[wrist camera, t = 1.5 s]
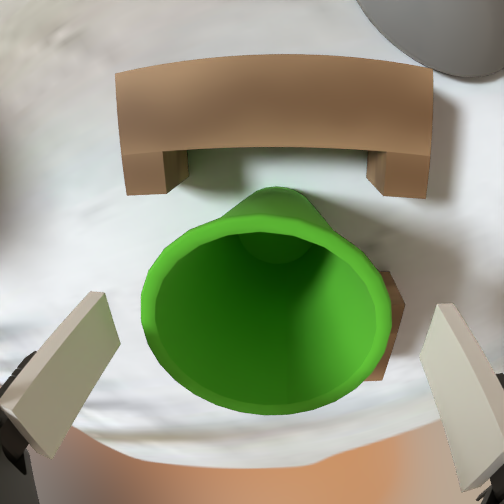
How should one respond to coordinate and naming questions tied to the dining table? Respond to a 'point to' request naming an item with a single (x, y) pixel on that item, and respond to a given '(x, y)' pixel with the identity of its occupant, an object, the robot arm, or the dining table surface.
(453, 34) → the coaster
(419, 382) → the dining table surface
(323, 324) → the cup
